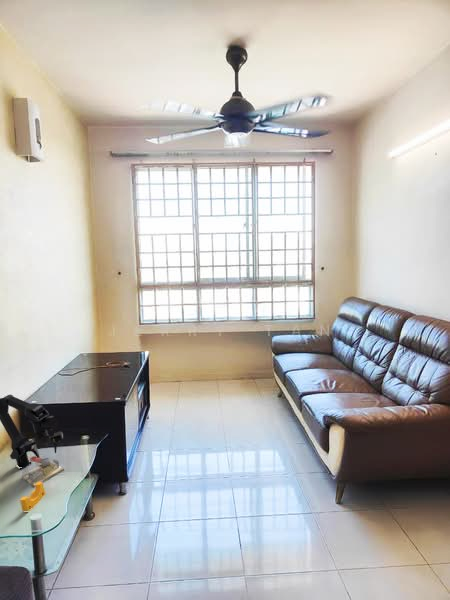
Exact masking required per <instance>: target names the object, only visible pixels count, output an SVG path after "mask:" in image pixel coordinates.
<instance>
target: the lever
mask: <svg viewBox="0 0 450 600" xmlns="http://www.w3.org/2000/svg"><path fill="white" fill-rule="evenodd" d="M29 461H30V462H32V463H33V462H34V463H38V464H40V465H42V467H44V466H47V465H49V464H50V458H49V457H46V458H42V457H40V458H38V457H37V456H36V455H35V456H34V455H32V456H31V457H30V458H29Z"/></svg>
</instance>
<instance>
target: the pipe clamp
mask: <svg viewBox="0 0 450 600" xmlns="http://www.w3.org/2000/svg"><path fill="white" fill-rule="evenodd" d="M44 496H46V490H45V487H44V482H37V483H36V484H35V487H34V490H33V491H32V492H31V493H30V495H29V496H22V497H21V498H20V499H19V502H20V505H21V508H22V512H23V511H29V510H30V509H31V508H32V509H33V508H34V507H36V505H37V504H38V503H39V502H40V501H41V500H42V499H43V498H44ZM32 509H31V510H32ZM31 510H30V511H31Z"/></svg>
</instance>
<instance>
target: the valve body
mask: <svg viewBox="0 0 450 600" xmlns="http://www.w3.org/2000/svg"><path fill="white" fill-rule="evenodd" d="M59 466H60V462H59V460H57V459H55V458H54V459H52V462H50V464H49V465H47V466H44V467H42V465H41V464H40V465H38V467H39V469H38V470H36V471H35V472H33V473H28V472H27V473H28V476H29V480H30V481H31V482H34V481H35V480H37V479H39V478H40V477H42V476H47V475H48V474H50V473H52V472H54V471H55V469H56V468H59Z"/></svg>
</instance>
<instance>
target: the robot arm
mask: <svg viewBox="0 0 450 600" xmlns="http://www.w3.org/2000/svg"><path fill="white" fill-rule="evenodd" d="M10 407H11V408H13V409H16V410H18V411H20V412H22V413H24V415H25V417H27V418H29V420H28V423H31V424H32V427H33V432H34V436H35V438H34V439H35V441H33V439H32V440H29V437H28V436H24V435H22V434H21V433H20V431H19V429H18V427H17V425H16V424H15V421H14V420H13V419H12V416H11V414H10V413H9V408H10ZM0 422H1V424H2V426H3V428H4V431H6V433H7V435H8V437H9V439H10V440H11V446H10V448H11V450H12V451H11V453H10V455H9V457H10V458H11V460H15V461H16V465H18V466H19V467H22V469H24V468H26V467H28V466H29V464H30V465H31V463H33V462H32V461H30V459H29V456H28V453H30V452H31V453H33V454H34V455H35V457H38V458H41V457H40V453H39V450H40V449H43V448H46V447H48V444H49V443H51V442H52V441H53V449H54V453H55V454H57V448H58V447H57V446H58V443H60V441H63V439H64V432H62V431H61V430H60V431H57V432H54V433H53V435H52V436H50V435H49V433H48V431H49V430H50V431H51V430H54V431H55V430H56V429H57V428H58V426H59V420H58V419H57V418H55V416H54V415H50V413H49V411H48V410H46V408H45V407H44V406H43V405H42V404H40V403H39V404H38V403H36V402H35V403H29V402H28V401H25V400H22V399H20V398H18V397H15V396H14V395H12V394H7V395H6V396H3V397H0ZM29 461H30V462H29ZM27 465H28V466H27ZM23 467H24V468H23ZM22 469H21V468H20V470H22Z"/></svg>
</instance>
